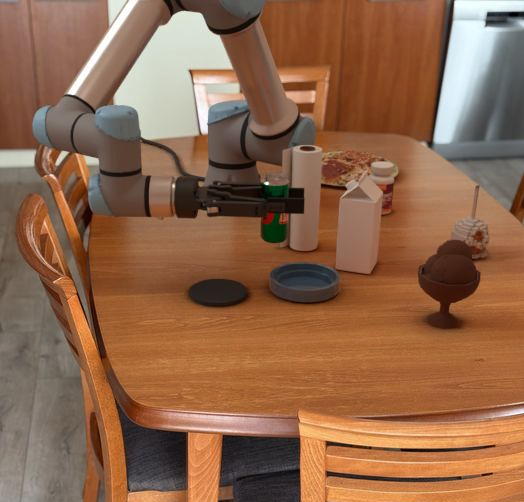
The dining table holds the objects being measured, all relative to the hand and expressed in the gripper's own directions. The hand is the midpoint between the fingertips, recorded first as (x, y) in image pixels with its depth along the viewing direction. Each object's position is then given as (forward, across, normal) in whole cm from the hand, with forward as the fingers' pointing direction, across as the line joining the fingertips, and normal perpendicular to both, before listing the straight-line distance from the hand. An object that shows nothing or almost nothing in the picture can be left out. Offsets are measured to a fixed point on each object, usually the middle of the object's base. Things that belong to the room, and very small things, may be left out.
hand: (303, 200), depth 155 cm
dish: (+1, -1, -18) cm, 18 cm away
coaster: (-16, +2, -18) cm, 24 cm away
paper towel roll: (0, -23, -18) cm, 29 cm away
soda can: (-5, 0, -8) cm, 9 cm away
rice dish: (+12, -76, -18) cm, 79 cm away
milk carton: (+11, -13, -18) cm, 25 cm away
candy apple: (+36, -22, -18) cm, 45 cm away
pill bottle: (+19, -47, -18) cm, 54 cm away
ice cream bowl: (+25, +11, -18) cm, 33 cm away
